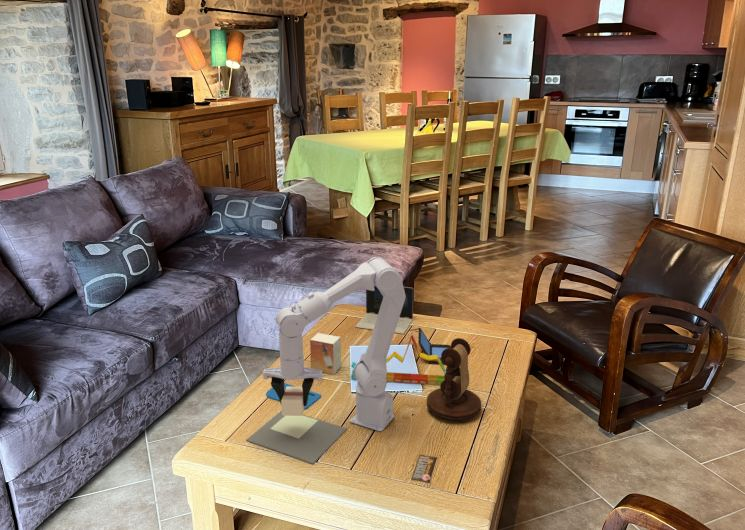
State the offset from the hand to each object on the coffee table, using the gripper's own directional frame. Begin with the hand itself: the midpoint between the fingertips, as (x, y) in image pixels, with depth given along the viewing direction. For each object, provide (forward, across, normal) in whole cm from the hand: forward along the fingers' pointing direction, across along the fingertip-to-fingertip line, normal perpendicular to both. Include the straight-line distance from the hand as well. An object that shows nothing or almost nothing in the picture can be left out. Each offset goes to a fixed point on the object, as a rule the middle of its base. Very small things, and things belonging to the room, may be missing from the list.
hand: (294, 403), depth 154 cm
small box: (+9, -3, -34) cm, 36 cm away
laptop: (+10, -19, -68) cm, 71 cm away
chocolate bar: (+10, -33, +12) cm, 36 cm away
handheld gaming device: (+10, +4, -18) cm, 21 cm away
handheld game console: (+10, -37, -45) cm, 59 cm away
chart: (+10, -27, -28) cm, 40 cm away
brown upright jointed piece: (+9, -41, -14) cm, 44 cm away
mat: (+9, 0, +1) cm, 9 cm away
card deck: (+1, 0, 0) cm, 1 cm away
